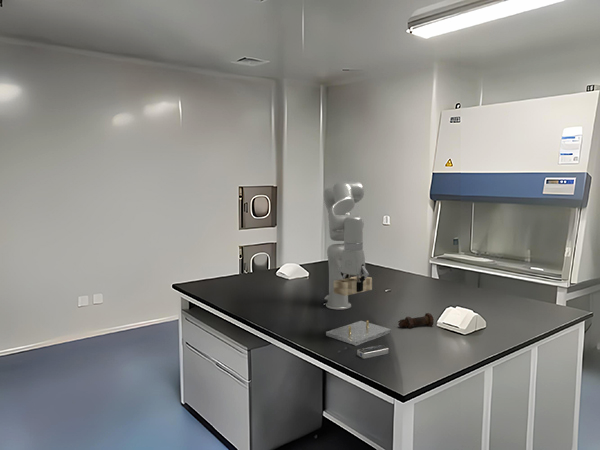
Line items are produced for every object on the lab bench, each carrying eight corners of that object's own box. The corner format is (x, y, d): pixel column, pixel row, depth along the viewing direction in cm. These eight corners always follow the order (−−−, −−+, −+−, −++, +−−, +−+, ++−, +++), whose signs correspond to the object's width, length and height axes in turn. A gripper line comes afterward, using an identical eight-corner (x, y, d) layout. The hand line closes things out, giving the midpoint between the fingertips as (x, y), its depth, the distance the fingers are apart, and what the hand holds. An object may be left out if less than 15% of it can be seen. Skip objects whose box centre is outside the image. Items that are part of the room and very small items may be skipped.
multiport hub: (388, 354, 167) (388, 348, 167) (363, 359, 162) (363, 353, 162) (381, 350, 171) (381, 344, 171) (356, 355, 166) (356, 349, 166)
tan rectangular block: (333, 292, 186) (333, 280, 185) (360, 287, 196) (360, 275, 196) (345, 295, 181) (345, 283, 180) (371, 289, 191) (372, 277, 191)
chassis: (326, 335, 187) (326, 324, 186) (361, 323, 201) (361, 313, 201) (355, 345, 175) (355, 334, 174) (390, 332, 190) (391, 322, 189)
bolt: (398, 331, 197) (429, 327, 201) (403, 329, 192) (435, 324, 196) (395, 318, 199) (426, 314, 203) (400, 315, 195) (431, 311, 198)
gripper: (331, 245, 191) (331, 287, 192) (363, 249, 178) (363, 295, 179) (344, 244, 196) (344, 285, 197) (375, 248, 183) (375, 292, 184)
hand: (353, 289), depth 188 cm, fingers closed on tan rectangular block, 6 cm apart
